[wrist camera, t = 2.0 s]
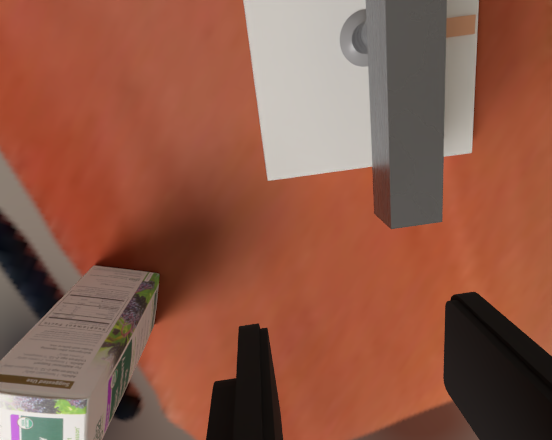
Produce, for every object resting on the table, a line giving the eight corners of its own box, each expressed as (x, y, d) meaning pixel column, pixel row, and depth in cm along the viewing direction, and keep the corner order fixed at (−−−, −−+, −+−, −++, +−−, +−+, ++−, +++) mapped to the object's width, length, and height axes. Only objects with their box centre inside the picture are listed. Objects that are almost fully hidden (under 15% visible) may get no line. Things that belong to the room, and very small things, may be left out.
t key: (332, -163, 22) (377, -306, 14) (382, -169, 22) (453, -314, 14) (353, 194, 29) (391, 229, 21) (391, 189, 29) (442, 221, 21)
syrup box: (155, 327, 34) (90, 484, 20) (88, 319, 33) (-28, 477, 19) (160, 271, 32) (92, 401, 18) (90, 262, 31) (-36, 390, 17)
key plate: (231, -91, 24) (229, -109, 22) (467, -119, 25) (487, -139, 22) (266, 175, 30) (268, 181, 28) (457, 149, 30) (473, 153, 28)
